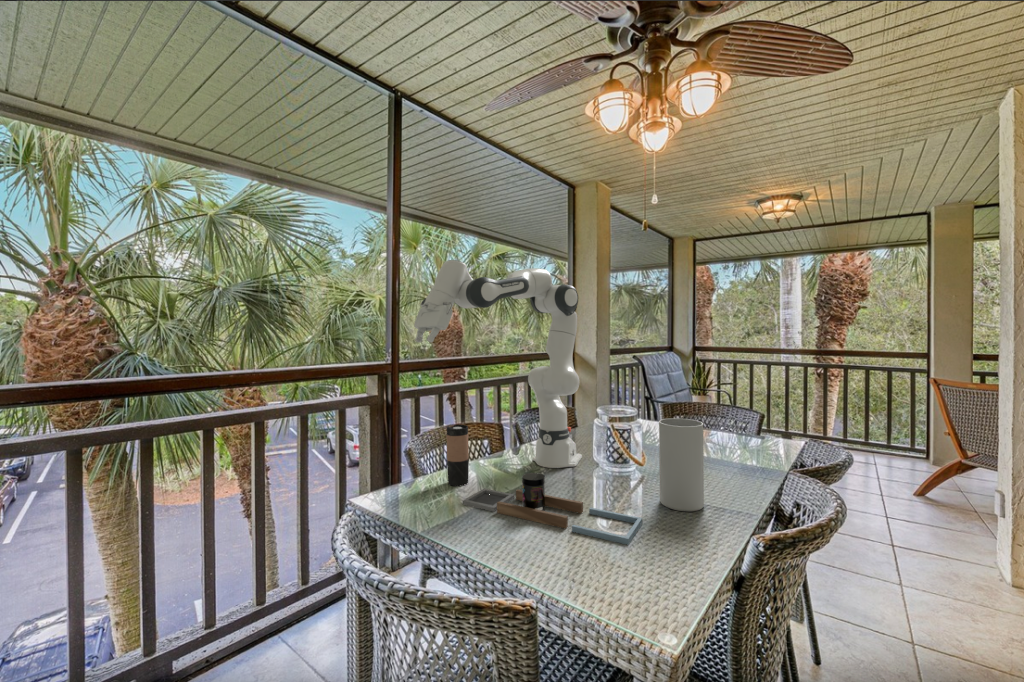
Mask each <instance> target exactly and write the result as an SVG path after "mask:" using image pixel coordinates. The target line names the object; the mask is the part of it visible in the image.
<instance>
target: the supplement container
mask: <svg viewBox="0 0 1024 682" xmlns="http://www.w3.org/2000/svg"><path fill="white" fill-rule="evenodd" d="M521 479H522V480H521V481H522V485H521V486H522V489H521V490H522V492H523V501H522V506H523V507H528V508H532V509H537V510H542V511H546V506H545V495H546V477H545V475H544V474H543V473H539V472H528V473H524V474H523V475H522V476H521Z"/></svg>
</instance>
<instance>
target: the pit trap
mask: <svg viewBox="0 0 1024 682" xmlns="http://www.w3.org/2000/svg"><path fill="white" fill-rule="evenodd" d="M489 494H490V495H489ZM512 499H513V500H514V499H515V494H513V493H509V492H503V491H498V490H493V489H489V488H482V489H481V490H479V491H476V493H475V492H474V494H472V495H470V496H467V498H465V499H463V500H462V505H463V504H464V506H467V507H471V506H472V508H477V509H480V508H481V510H484V509H485V510H484V511H488V512H497V502H499V501H500V502H505V503H510V502H511V501H513V500H512ZM510 500H511V501H510ZM509 501H510V502H509Z"/></svg>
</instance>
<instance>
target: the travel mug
mask: <svg viewBox="0 0 1024 682" xmlns="http://www.w3.org/2000/svg"><path fill="white" fill-rule="evenodd" d="M469 451H470V450H469V426H468V425H466V424H454V425H453V426H446V465H447V467H446V468H447V483H448V485H449V484H450V485H449V486H451V485H453V486H452V487H461V486H460V485H463V486H465V485H464V484H466V485H468V484H469V470H470V469H469V464H470V461H469V458H470V456H469V455H470V453H469ZM467 483H468V484H467Z"/></svg>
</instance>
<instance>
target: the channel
mask: <svg viewBox="0 0 1024 682" xmlns="http://www.w3.org/2000/svg"><path fill="white" fill-rule="evenodd" d="M515 500H516V501H518V500H520V501H519V502H523V492H522V489H516V490H515ZM547 506H548V508H552V507H553V508H552V509H557V508H558V510H561V509H562V511H566V510H567V511H566V512H571V511H572V513H576V512H578V513H577V514H581V513H582V512H583V513H584V501H580V500H574V499H571V498H570V499H569V498H566V497H565V498H563V497H558V496H554V495H548V494H545V507H547ZM496 513H497V514H501V515H505V516H509V517H512V518H519V519H522V520H527V521H531V522H535V523H539V524H544V525H548V526H553V527H556V526H557V527H556V528H560V527H561V528H560V529H564V528H565V530H567V529H568V528H569V517H568V515H563V514H559V513H556V512H555V513H554V512H550V511H546V510H545V511H542V510H537V509H532V508H528V507H523V505H518V504H514V503H510V502H508V503H505V502H500V501H499V502H497V510H496ZM583 513H582V514H583ZM567 527H568V528H567ZM566 528H567V529H566Z"/></svg>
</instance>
